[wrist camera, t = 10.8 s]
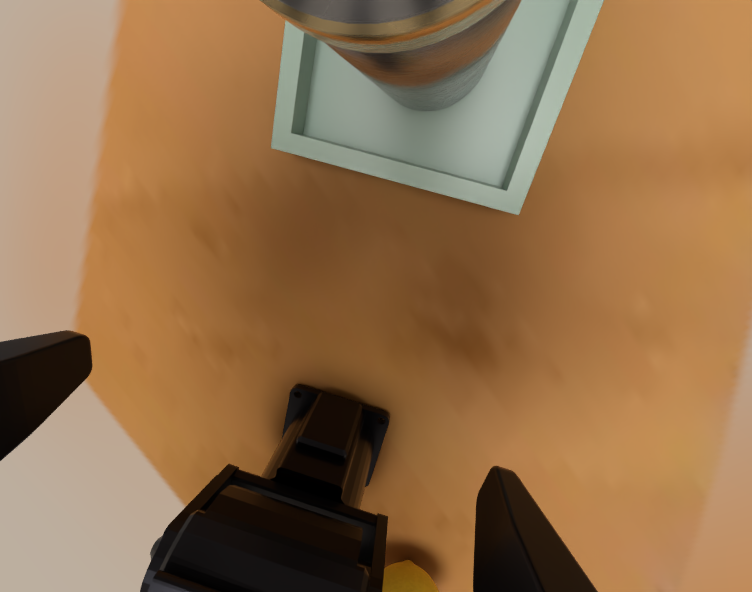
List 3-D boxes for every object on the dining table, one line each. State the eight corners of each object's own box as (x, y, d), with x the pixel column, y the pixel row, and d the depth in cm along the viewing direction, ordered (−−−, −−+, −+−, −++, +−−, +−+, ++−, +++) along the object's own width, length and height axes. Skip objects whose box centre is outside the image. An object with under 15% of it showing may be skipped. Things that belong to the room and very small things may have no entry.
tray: (509, 206, 18) (518, 215, 16) (292, 147, 19) (271, 148, 16) (623, -94, 13) (660, -143, 11) (333, -156, 14) (312, -215, 12)
